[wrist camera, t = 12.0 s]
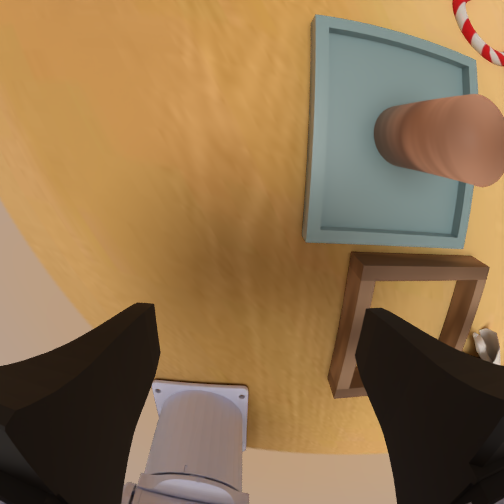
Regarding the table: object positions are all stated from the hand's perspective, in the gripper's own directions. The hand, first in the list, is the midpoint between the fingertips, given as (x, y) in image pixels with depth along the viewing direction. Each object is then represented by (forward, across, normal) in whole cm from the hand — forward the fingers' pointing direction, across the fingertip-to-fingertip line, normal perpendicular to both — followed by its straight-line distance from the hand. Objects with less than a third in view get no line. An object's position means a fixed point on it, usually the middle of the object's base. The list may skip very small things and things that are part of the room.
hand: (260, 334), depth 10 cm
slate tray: (+10, -9, -8) cm, 16 cm away
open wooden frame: (+10, -12, +6) cm, 17 cm away
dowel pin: (+10, -9, -8) cm, 15 cm away
